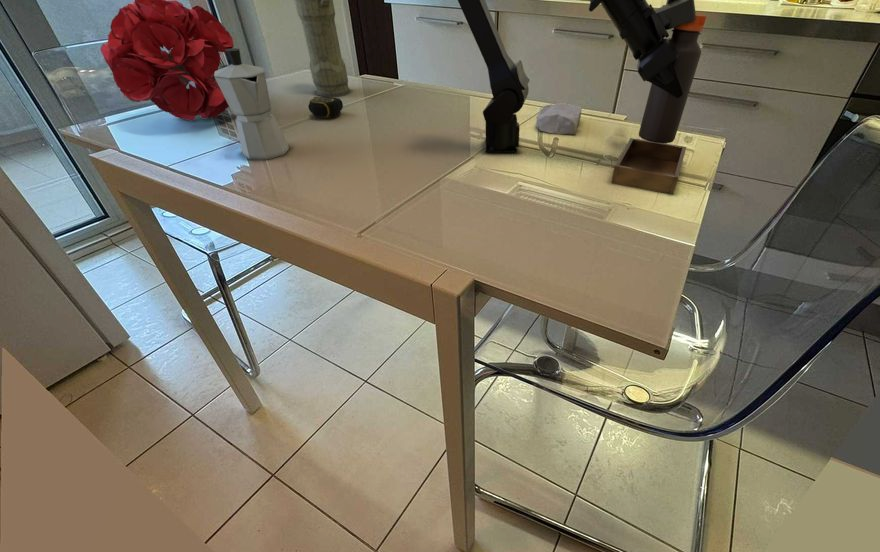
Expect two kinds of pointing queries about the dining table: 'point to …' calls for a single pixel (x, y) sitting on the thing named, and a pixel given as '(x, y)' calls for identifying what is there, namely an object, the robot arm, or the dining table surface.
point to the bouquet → (168, 57)
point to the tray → (649, 165)
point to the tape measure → (325, 106)
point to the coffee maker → (251, 108)
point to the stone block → (559, 118)
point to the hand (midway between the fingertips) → (678, 90)
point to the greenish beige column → (323, 47)
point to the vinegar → (667, 108)
